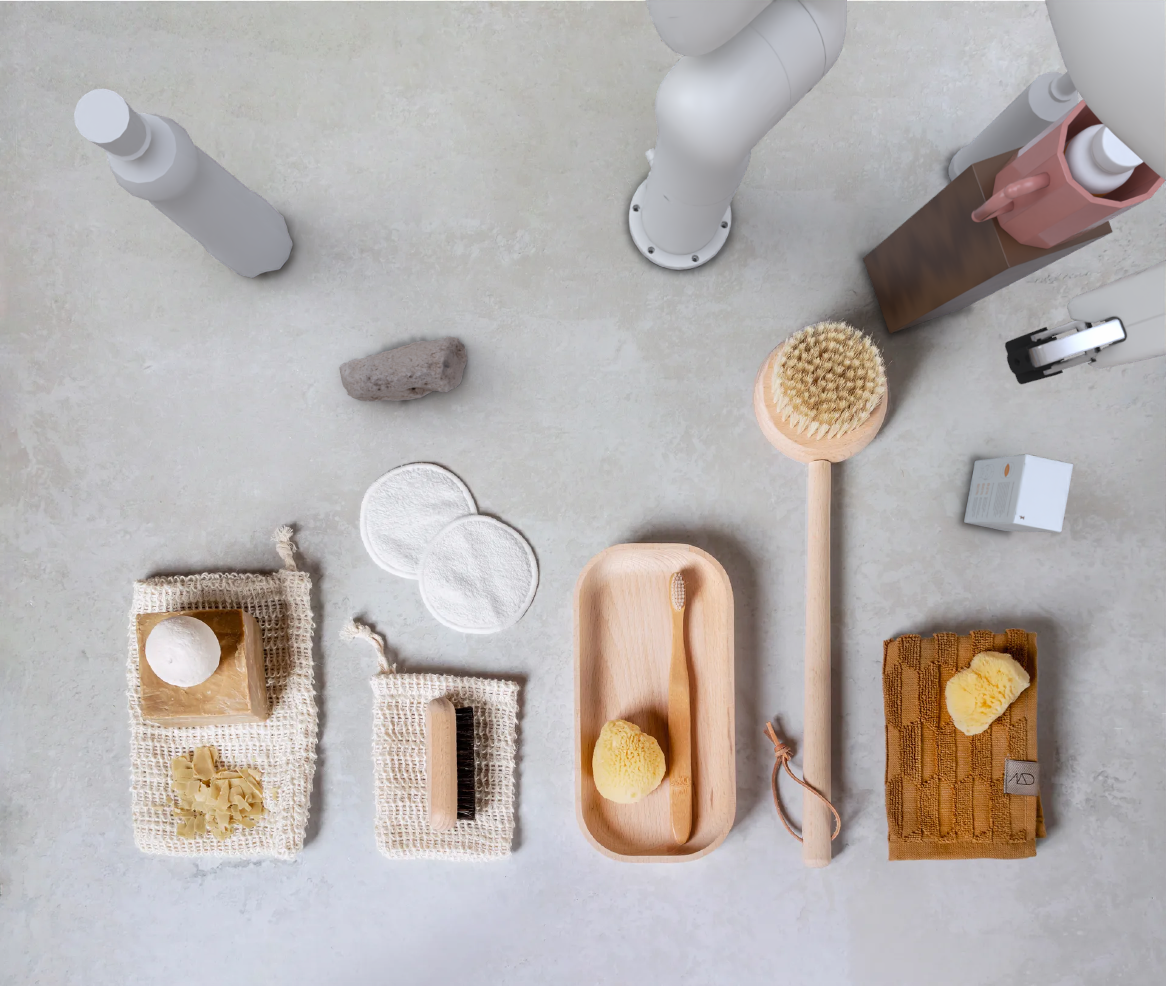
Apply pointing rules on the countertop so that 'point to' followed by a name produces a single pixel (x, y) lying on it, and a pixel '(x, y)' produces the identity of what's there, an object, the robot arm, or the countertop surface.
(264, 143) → the countertop surface
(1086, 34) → the robot arm
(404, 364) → the pumice stone
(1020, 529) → the small box
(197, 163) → the bottle
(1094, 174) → the supplement bottle
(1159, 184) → the pink octagonal mug
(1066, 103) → the bottle
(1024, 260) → the stand
